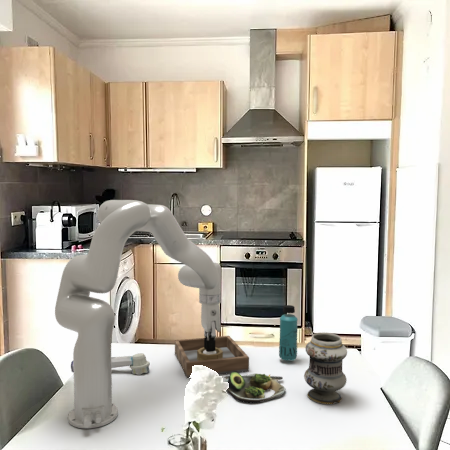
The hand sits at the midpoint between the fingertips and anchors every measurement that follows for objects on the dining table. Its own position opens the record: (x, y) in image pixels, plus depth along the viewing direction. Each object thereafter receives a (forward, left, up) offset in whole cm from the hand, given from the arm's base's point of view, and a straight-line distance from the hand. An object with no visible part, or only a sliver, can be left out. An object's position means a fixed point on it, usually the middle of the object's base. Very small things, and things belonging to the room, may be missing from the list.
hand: (209, 349), depth 153 cm
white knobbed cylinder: (+1, +34, -5) cm, 34 cm away
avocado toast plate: (-24, -7, -5) cm, 26 cm away
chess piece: (0, 0, -2) cm, 2 cm away
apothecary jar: (-34, -26, -5) cm, 43 cm away
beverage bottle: (-6, -27, -5) cm, 28 cm away
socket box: (0, 0, -5) cm, 5 cm away
